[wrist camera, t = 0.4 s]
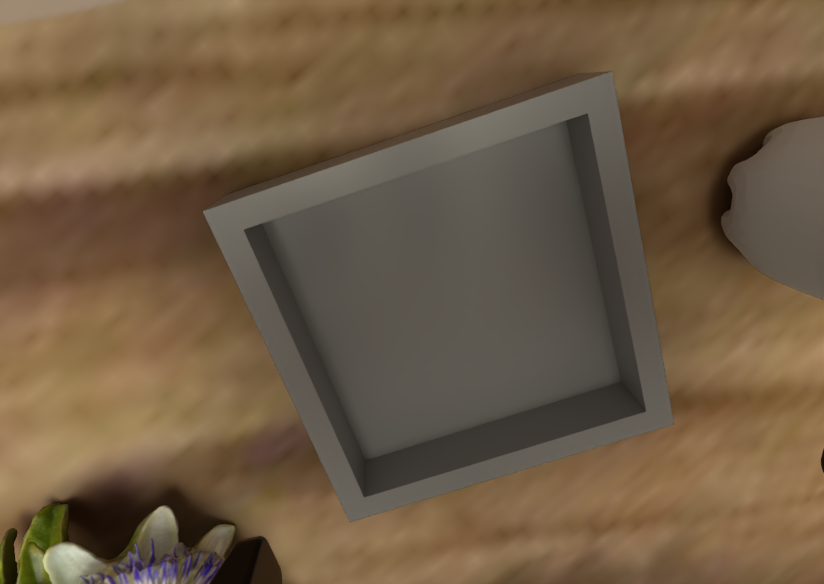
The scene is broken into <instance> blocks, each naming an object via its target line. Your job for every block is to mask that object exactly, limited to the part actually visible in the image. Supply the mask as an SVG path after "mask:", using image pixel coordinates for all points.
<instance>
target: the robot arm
mask: <svg viewBox="0 0 824 584" xmlns="http://www.w3.org/2000/svg"><path fill="white" fill-rule="evenodd" d="M821 466H822V470H823V472H824V450H823V453H822V457H821ZM209 584H282V574H281V569H280V566H279V564H278V562H277V560H276V558H275V556H274V554H273V551H272V549H271V547H270V545H269V543H268V541H267V540H266V538H264V537H263V536H258V537H253V538H247V539H243V540H240V541H238V542H237V543H236V544H235V545H234V547H233V548H232V549H231V551H230V552H229V554H228V555H227V557H226V558H225V560H224V561H223V563H222V564H221V566H220V568H219V569H218V571H217V572H216V574H215V575H214V577H213V578H212V580H211V581H210V583H209Z"/></svg>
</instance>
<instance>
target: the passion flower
mask: <svg viewBox="0 0 824 584" xmlns="http://www.w3.org/2000/svg"><path fill="white" fill-rule="evenodd" d="M68 527H69V506H68V504H64V505H61V503H59V502H58V503H53V504H50V505H48V506H45V507H43V508H42V509H41V510H40V511H39V512H38V513H37V514H36V515H35V516H34V517H33V518H32V523H31V525H30V526H29V528H28V530H27V532H26V533H25V535H24V536H23V541H22V546H21V550H20V554H19V561H18V563H17V562H16V561H15V553H14V541H15V539H16V537H17V530H16V529H14V528H11V529H9V530H8V531H7V532H6V533H5V535H4V538H3V540H2V542H1V544H0V584H209V583H210V581H211V580H212V578H213V577H214V575H215V574H216V572H217V571H218V569H219V568H220V566H221V564H222V563H223V561H224V560H225V558H226V555H227V552H228V550H229V549H230V547H231V545H232V542H233V538H234V533H235V530H236V528H235V526H234V525H229V524H220V525H217V526H215V527H214V528H213V529H211V530H209V531H208V532H207V533H205V534H204V535H203V536H202V537H201V538H200V539H199V540H198V541H197V542H196V543H195V544H194V545H193V546H192V547H186V546H185V545H184V544H183V543H182V542H179V522H178V519H177V518H176V516H175V515H174V512H173V510H172V509H171V508H170V507H169V506H167V505H163V506H160V507H158V508H156V509H155V510H154V511H153V512H151V513H150V514H149V515H147V516H146V517H145V518H144V519H143V520H142V521H141V522H140V524H139V525H138V526H137V528H136V530H135V532H134V534H133V536H132V538H131V540H130V542H129V544H128V546H127V547H126V548H125V550H124V551H123V552H122V553H121V554H120V555H119V556H117V557H115V558H114V559H110V560H107V559H104V558H100V557H97V556H96V555H95V554H94V553H93V552H91V551H89V550H87V549H85V548H84V547H82V546H80V545H79V544H77V543H73V542H69V536H68ZM17 569H18V573H17Z"/></svg>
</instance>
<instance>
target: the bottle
mask: <svg viewBox="0 0 824 584" xmlns="http://www.w3.org/2000/svg"><path fill="white" fill-rule="evenodd" d="M727 183H728V185H729V186H730V188H731V191H732V194H733V197H732V204H731V210H728V211H726V212H725V213H724V214H723V215H722V217H721V225H722V228H723V231H724V233H725V235H726V237H727V238H728V239H729V240H730V241H731V243H732V244H733V245H734V246H735V247H736V248H737V249H738V250H739V251H740V252H741V253H742V255H743V256H744V257H745V258H746V259H747V261H748V262H749V263H750V264H751V265H752V266H753V267H754V268H755V269H757V270H758V271H759V272H761V273H763V274H764V275H766V276H768V277H770V278H772V279H774V280H775V281H777V282H779V283H782V284H784V285H786V286H789V287H791V288H793V289H796V290H798V291H801V292H804V293H806V294H809V295H812V296H815V297H817V298H820V299H823V300H824V117H817V118H810V119H804V120H799V121H795V122H790V123H786V124H784V125H782V126H780V127H778V128H776V129H774V130H772V131H771V132H769V133H768V134H767V135H766V137H765V139H764V141H763V147H762V148H761V149H760V150H759V151H758V152H757V153H756V154H755V155H754V156H752V157H751V158H749V159H747V160H745V161H743V162H740V163H738V164H736V165H735V166H734V167H733V168H732V170H731V172H730V174H729V176H728V178H727Z"/></svg>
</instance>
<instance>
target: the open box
mask: <svg viewBox="0 0 824 584" xmlns="http://www.w3.org/2000/svg"><path fill="white" fill-rule="evenodd" d="M203 213H204V215H205V217H206V219H207V222H208V224H209V226H210V228H211V230H212V232H213V234H214V236H215V238H216V241H217V243H218V245H219V247H220V249H221V251H222V253H223V255H224V257H225V260H226V262H227V264H228V266H229V268H230V270H231V272H232V274H233V276H234V279H235V281H236V283H237V285H238V287H239V289H240V291H241V293H242V295H243V298H244V300H245V302H246V304H247V306H248V308H249V310H250V312H251V315H252V317H253V319H254V321H255V323H256V325H257V327H258V329H259V331H260V334H261V336H262V338H263V340H264V342H265V344H266V346H267V348H268V350H269V353H270V355H271V357H272V359H273V361H274V363H275V365H276V367H277V369H278V372H279V374H280V376H281V378H282V380H283V382H284V384H285V386H286V388H287V391H288V393H289V395H290V397H291V399H292V401H293V403H294V405H295V408H296V410H297V412H298V414H299V416H300V418H301V420H302V422H303V424H304V427H305V429H306V431H307V433H308V435H309V437H310V439H311V441H312V443H313V446H314V448H315V450H316V452H317V454H318V456H319V458H320V460H321V462H322V465H323V467H324V469H325V471H326V473H327V475H328V477H329V479H330V481H331V484H332V486H333V488H334V490H335V492H336V494H337V496H338V498H339V501H340V503H341V505H342V507H343V509H344V511H345V513H346V515H347V517H348V520H349V522H352V521H356V520H359V519H362V518H366V517H369V516H372V515H376V514H379V513H382V512H386V511H389V510H392V509H395V508H399V507H402V506H405V505H409V504H412V503H415V502H419V501H422V500H425V499H428V498H432V497H435V496H438V495H442V494H445V493H448V492H452V491H455V490H458V489H461V488H465V487H468V486H471V485H475V484H478V483H481V482H485V481H488V480H491V479H495V478H498V477H501V476H504V475H508V474H511V473H514V472H518V471H521V470H524V469H528V468H531V467H534V466H537V465H541V464H544V463H547V462H551V461H554V460H557V459H561V458H564V457H567V456H571V455H574V454H577V453H580V452H584V451H587V450H590V449H594V448H597V447H600V446H604V445H607V444H610V443H613V442H617V441H620V440H623V439H627V438H630V437H633V436H637V435H640V434H643V433H646V432H650V431H653V430H656V429H660V428H663V427H666V426H670V425H673V424H674V421H673V415H672V410H671V404H670V398H669V393H668V387H667V381H666V375H665V370H664V364H663V358H662V353H661V347H660V341H659V335H658V330H657V324H656V318H655V313H654V307H653V301H652V295H651V290H650V284H649V278H648V273H647V267H646V261H645V256H644V250H643V244H642V238H641V233H640V227H639V221H638V216H637V210H636V204H635V198H634V193H633V187H632V181H631V176H630V170H629V164H628V158H627V153H626V147H625V141H624V136H623V130H622V124H621V119H620V113H619V107H618V101H617V96H616V90H615V84H614V79H613V73H612V71H610V72H596V73H582V74H577V75H574V76H571V77H568V78H565V79H563V80H560V81H557V82H554V83H551V84H548V85H545V86H542V87H539V88H536V89H533V90H530V91H528V92H525V93H522V94H519V95H516V96H513V97H510V98H507V99H504V100H501V101H498V102H495V103H493V104H490V105H487V106H484V107H481V108H478V109H475V110H472V111H469V112H466V113H463V114H460V115H458V116H455V117H452V118H449V119H446V120H443V121H440V122H437V123H434V124H431V125H428V126H425V127H423V128H420V129H417V130H414V131H411V132H408V133H405V134H402V135H399V136H396V137H393V138H390V139H388V140H385V141H382V142H379V143H376V144H373V145H370V146H367V147H364V148H361V149H358V150H355V151H353V152H350V153H347V154H344V155H341V156H338V157H335V158H332V159H329V160H326V161H323V162H320V163H318V164H315V165H312V166H309V167H306V168H303V169H300V170H297V171H294V172H291V173H288V174H285V175H283V176H280V177H277V178H274V179H271V180H268V181H265V182H262V183H259V184H256V185H253V186H250V187H248V188H245V189H242V190H239V191H236V192H233V193H230V194H227V195H225V196H224V197H222V198H221V199H220V200H218V201H217V202H215V203H214V204H212V205H211V206H210V207H208V208H207V209H205V210H204V211H203Z"/></svg>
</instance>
